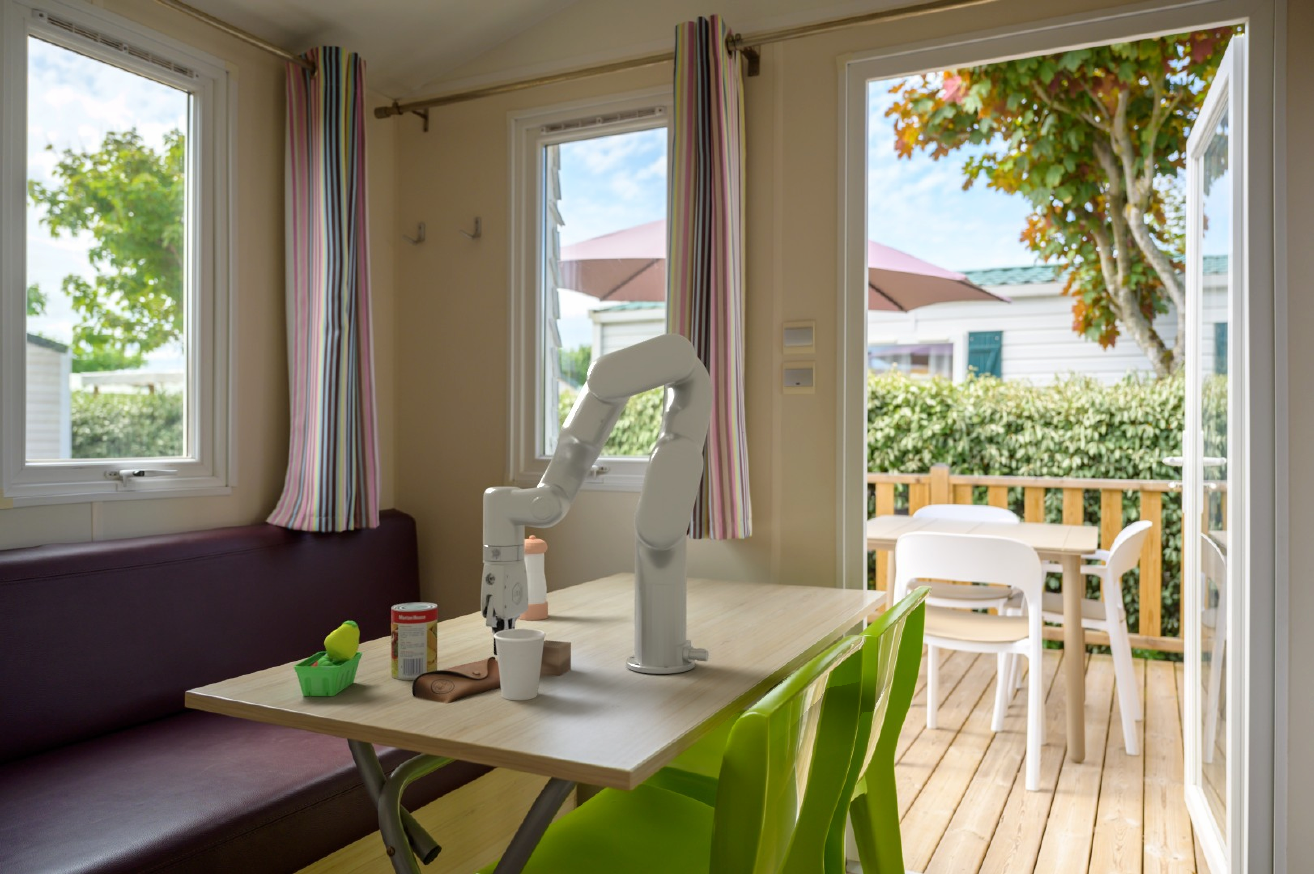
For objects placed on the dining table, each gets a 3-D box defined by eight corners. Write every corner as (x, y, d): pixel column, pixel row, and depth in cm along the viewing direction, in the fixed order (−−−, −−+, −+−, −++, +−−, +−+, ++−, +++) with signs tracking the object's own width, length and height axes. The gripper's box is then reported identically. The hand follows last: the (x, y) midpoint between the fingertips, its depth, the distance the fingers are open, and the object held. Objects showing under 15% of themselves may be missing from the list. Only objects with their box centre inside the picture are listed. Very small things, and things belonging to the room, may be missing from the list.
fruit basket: (319, 680, 159) (320, 614, 159) (370, 680, 159) (371, 614, 159) (291, 698, 148) (291, 627, 148) (346, 699, 147) (346, 628, 147)
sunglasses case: (446, 704, 144) (432, 664, 146) (420, 720, 148) (407, 681, 150) (527, 680, 159) (513, 644, 161) (502, 695, 162) (488, 660, 164)
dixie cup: (486, 701, 146) (486, 637, 146) (503, 687, 154) (503, 627, 154) (537, 703, 145) (537, 639, 145) (551, 689, 153) (552, 629, 153)
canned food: (435, 667, 168) (435, 601, 168) (439, 677, 161) (439, 608, 161) (390, 670, 166) (390, 603, 166) (392, 681, 158) (392, 611, 158)
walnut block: (570, 670, 167) (570, 642, 167) (558, 676, 162) (558, 647, 162) (545, 667, 168) (545, 640, 168) (533, 674, 164) (533, 645, 164)
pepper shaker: (545, 620, 213) (546, 537, 213) (514, 620, 213) (514, 537, 213) (550, 614, 220) (550, 534, 220) (519, 614, 220) (519, 533, 220)
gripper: (501, 560, 161) (501, 665, 161) (541, 550, 175) (540, 647, 175) (464, 558, 163) (463, 662, 163) (505, 549, 177) (505, 644, 177)
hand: (503, 654), depth 169 cm, fingers closed
